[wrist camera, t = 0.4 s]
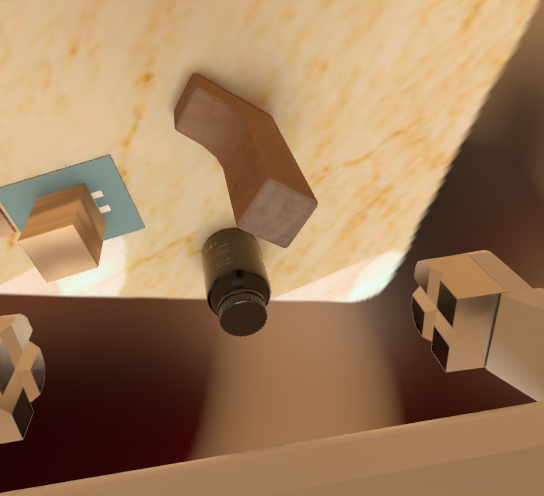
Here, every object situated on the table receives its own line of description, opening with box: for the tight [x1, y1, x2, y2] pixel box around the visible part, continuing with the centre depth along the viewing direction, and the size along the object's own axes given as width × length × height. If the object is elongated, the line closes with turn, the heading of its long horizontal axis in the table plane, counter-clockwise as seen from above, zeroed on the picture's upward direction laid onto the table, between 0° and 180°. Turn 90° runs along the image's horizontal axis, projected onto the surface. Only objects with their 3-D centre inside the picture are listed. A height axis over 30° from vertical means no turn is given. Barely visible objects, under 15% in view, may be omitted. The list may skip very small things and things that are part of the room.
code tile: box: [0, 155, 145, 241], centre depth 50 cm, size 9×12×1 cm
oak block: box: [18, 183, 106, 283], centre depth 46 cm, size 5×5×8 cm
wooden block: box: [174, 74, 318, 248], centre depth 40 cm, size 9×4×18 cm, turn 57°
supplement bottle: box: [203, 229, 271, 336], centre depth 52 cm, size 7×7×12 cm
